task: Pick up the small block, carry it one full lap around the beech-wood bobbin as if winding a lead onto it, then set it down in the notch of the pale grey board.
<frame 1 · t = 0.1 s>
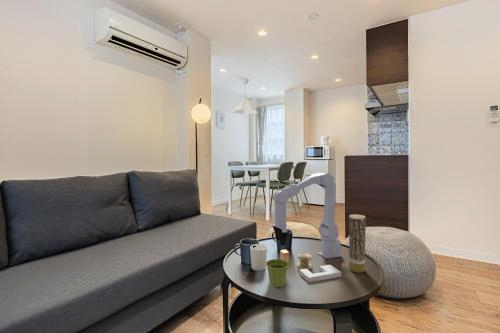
hand: (280, 242, 127), 10 cm above the table, fingers open, 7 cm apart
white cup: (258, 268, 122), on the table
plant pot: (277, 284, 106), on the table
board: (319, 275, 114), on the table
bark textured cylinder: (356, 270, 118), on the table
block: (284, 261, 129), on the table
bobbin: (304, 266, 122), on the table
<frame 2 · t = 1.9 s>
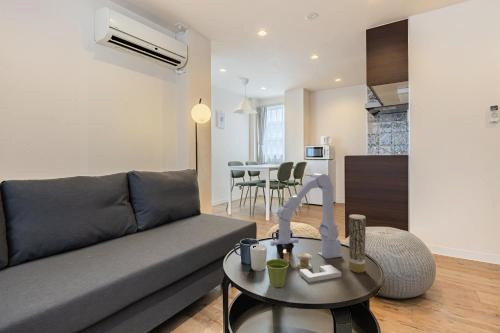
hand: (284, 258, 129), 1 cm above the table, fingers closed on block, 3 cm apart
block: (284, 261, 129), on the table, touching gripper
everything else where it was.
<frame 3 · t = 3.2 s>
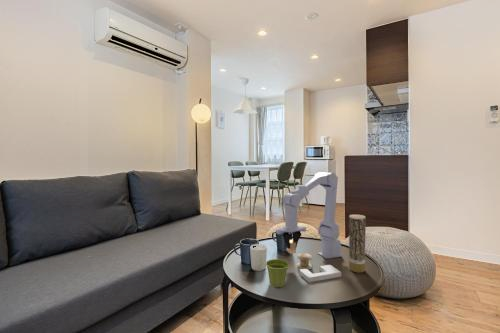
hand: (291, 247, 122), 9 cm above the table, fingers closed on block, 3 cm apart
block: (291, 251, 122), point 7 cm above the table, touching gripper
everything else where it was.
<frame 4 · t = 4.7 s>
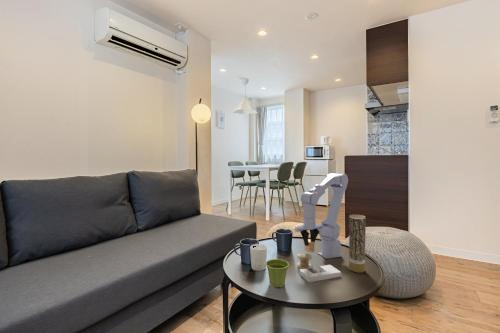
hand: (309, 244, 125), 9 cm above the table, fingers closed on block, 3 cm apart
block: (309, 250, 125), point 6 cm above the table, touching gripper
everything else where it was.
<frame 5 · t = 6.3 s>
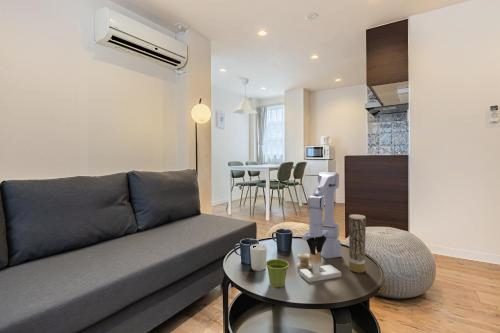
hand: (315, 253, 114), 9 cm above the table, fingers closed on block, 3 cm apart
block: (315, 261, 115), point 5 cm above the table, touching gripper
everything else where it was.
when the fingers open (3 cm above the table, at t = 7.8 s): block stays where it is, on the table.
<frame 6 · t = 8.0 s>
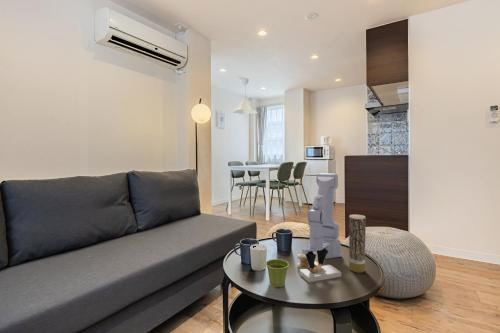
hand: (316, 266, 115), 3 cm above the table, fingers open, 5 cm apart
block: (315, 274, 115), on the table
everything else where it was.
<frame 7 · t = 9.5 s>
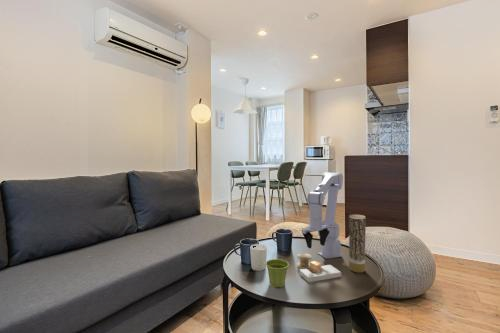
hand: (315, 246, 121), 10 cm above the table, fingers open, 7 cm apart
nothing on the table moved.
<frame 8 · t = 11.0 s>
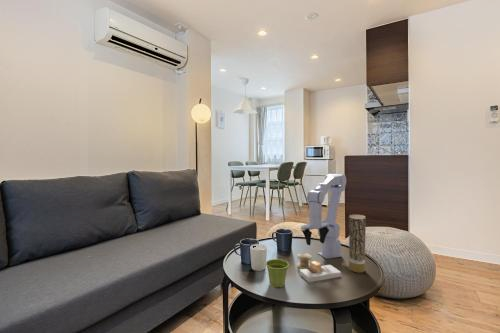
hand: (315, 243, 124), 10 cm above the table, fingers open, 7 cm apart
nothing on the table moved.
at the end: block 0.3 cm from the target spot on the board, point 0.0 cm above the board's base; block tilted 0°; the gripper is holding nothing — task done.
